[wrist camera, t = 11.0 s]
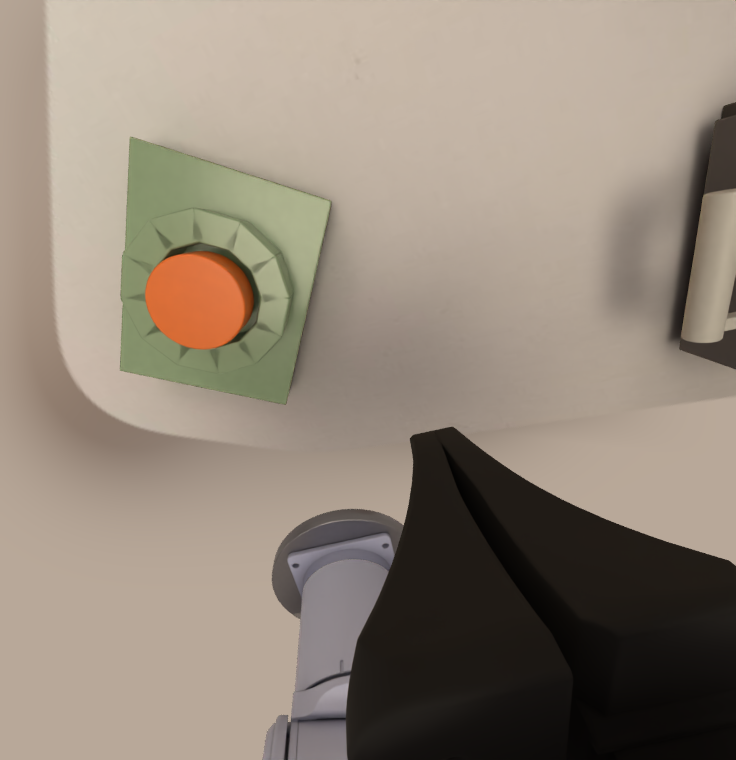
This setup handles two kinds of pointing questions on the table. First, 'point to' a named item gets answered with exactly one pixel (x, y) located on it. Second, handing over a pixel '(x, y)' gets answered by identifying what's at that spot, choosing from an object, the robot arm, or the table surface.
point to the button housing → (236, 242)
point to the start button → (199, 299)
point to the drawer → (715, 258)
